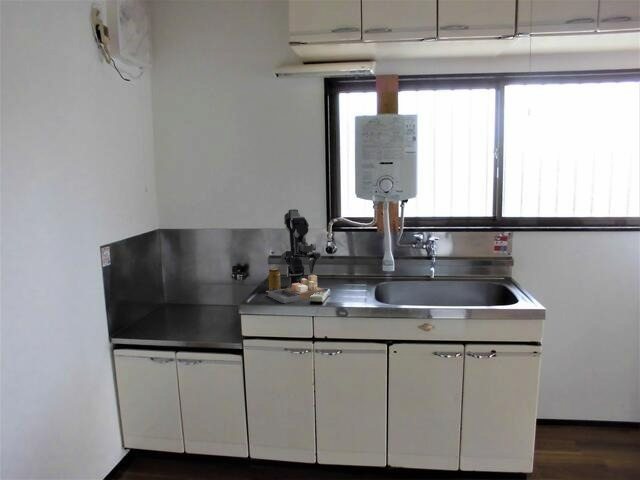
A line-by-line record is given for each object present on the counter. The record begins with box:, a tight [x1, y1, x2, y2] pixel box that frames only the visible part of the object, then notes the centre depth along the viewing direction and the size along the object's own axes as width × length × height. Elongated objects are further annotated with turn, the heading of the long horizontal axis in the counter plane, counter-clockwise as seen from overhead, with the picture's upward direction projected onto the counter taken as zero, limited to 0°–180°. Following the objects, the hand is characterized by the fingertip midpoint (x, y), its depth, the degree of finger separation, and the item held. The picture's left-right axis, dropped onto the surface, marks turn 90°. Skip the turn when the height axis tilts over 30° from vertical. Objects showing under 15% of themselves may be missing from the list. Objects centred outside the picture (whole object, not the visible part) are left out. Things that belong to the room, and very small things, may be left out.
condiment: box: [265, 267, 282, 294], centre depth 234 cm, size 7×8×12 cm
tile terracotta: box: [292, 283, 302, 290], centre depth 228 cm, size 4×4×2 cm
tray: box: [268, 288, 302, 304], centre depth 222 cm, size 16×9×2 cm, turn 33°
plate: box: [284, 286, 325, 301], centre depth 228 cm, size 14×14×3 cm
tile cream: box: [297, 285, 308, 292], centre depth 224 cm, size 4×4×2 cm
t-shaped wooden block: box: [301, 274, 318, 291], centre depth 230 cm, size 12×5×6 cm, turn 33°
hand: (302, 273), depth 215 cm, fingers open, 9 cm apart
